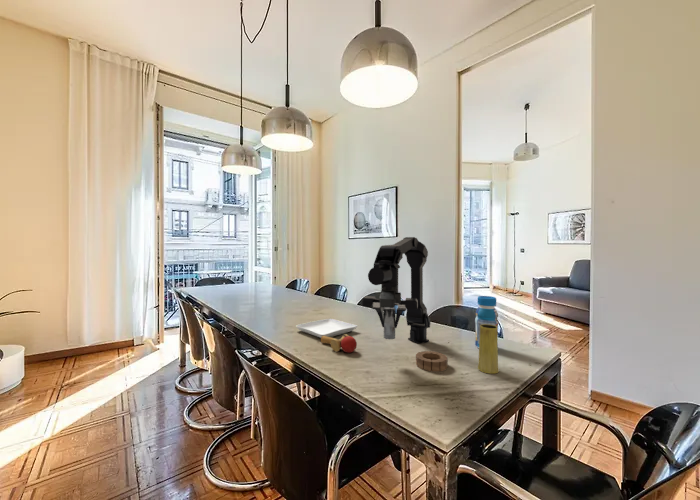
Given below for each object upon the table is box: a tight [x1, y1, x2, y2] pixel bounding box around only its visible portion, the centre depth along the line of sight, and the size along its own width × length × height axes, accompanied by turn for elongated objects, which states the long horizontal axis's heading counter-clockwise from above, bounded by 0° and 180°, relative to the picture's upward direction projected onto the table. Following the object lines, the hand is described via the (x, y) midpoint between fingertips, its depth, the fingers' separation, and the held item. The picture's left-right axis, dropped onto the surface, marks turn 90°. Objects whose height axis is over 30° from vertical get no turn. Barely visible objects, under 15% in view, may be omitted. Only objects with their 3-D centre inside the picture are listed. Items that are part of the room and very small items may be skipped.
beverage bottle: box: [474, 295, 499, 349], centre depth 119 cm, size 8×8×20 cm
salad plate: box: [295, 317, 358, 339], centre depth 140 cm, size 21×21×3 cm
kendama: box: [320, 333, 358, 354], centre depth 118 cm, size 8×6×18 cm
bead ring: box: [415, 350, 449, 372], centre depth 102 cm, size 10×10×3 cm
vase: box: [477, 324, 500, 375], centre depth 98 cm, size 6×6×14 cm
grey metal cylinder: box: [383, 307, 396, 340], centre depth 104 cm, size 4×4×10 cm
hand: (389, 327), depth 104 cm, fingers closed on grey metal cylinder, 4 cm apart
